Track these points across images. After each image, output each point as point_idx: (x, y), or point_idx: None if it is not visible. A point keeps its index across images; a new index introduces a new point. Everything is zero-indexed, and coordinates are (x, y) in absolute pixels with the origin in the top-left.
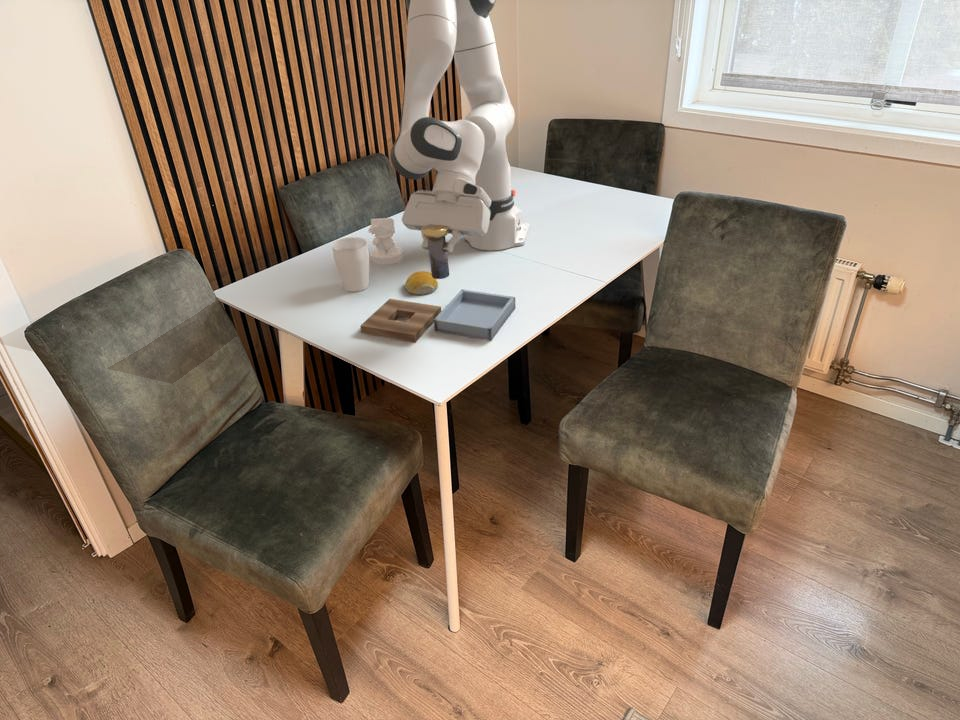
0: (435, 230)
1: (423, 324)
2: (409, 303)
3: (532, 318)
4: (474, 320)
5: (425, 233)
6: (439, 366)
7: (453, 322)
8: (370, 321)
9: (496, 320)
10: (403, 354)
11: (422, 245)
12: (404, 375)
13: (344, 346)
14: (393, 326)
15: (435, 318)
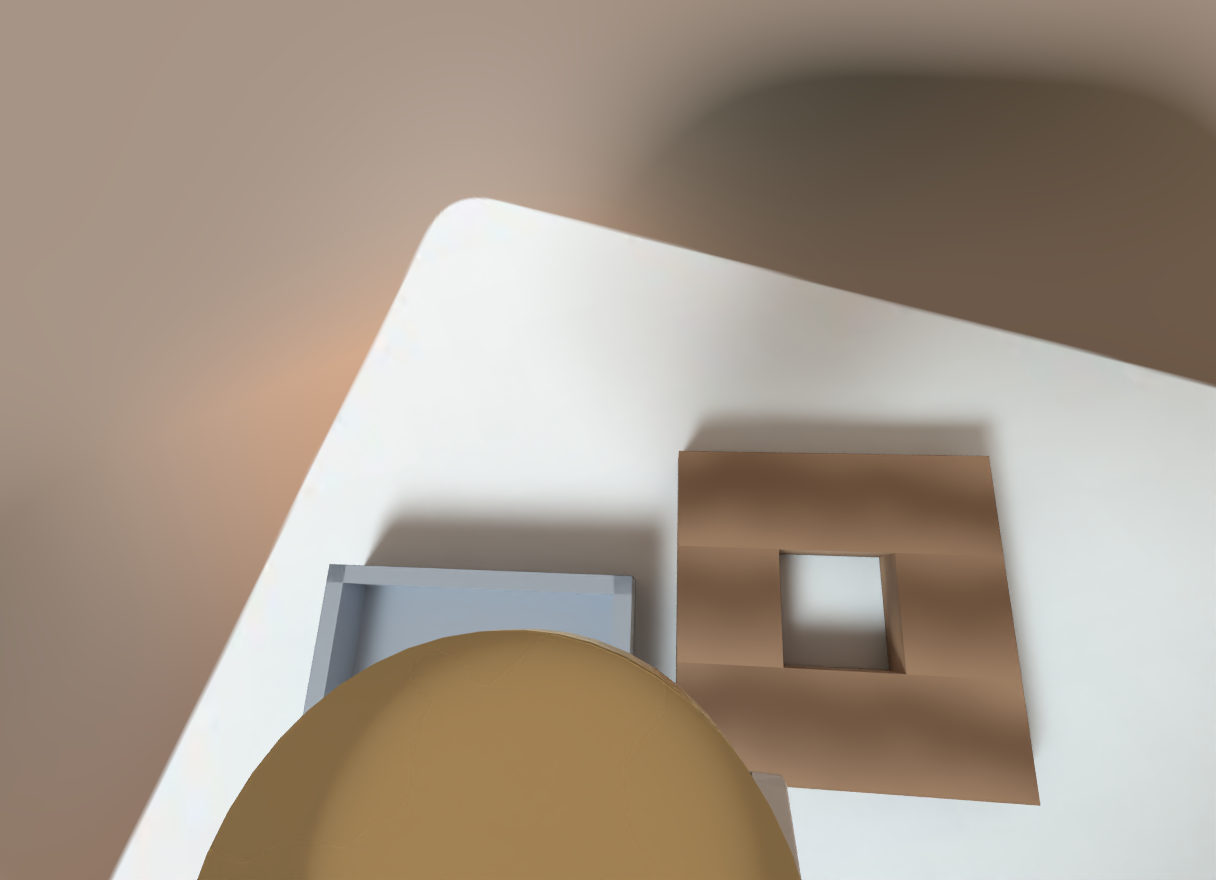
0: (427, 806)
1: (681, 553)
2: (878, 770)
3: (203, 839)
4: None
5: (629, 662)
6: (513, 335)
7: (523, 576)
8: (965, 508)
9: (317, 654)
10: (684, 367)
11: (774, 780)
12: (614, 251)
13: (964, 348)
14: (819, 494)
15: (629, 592)
